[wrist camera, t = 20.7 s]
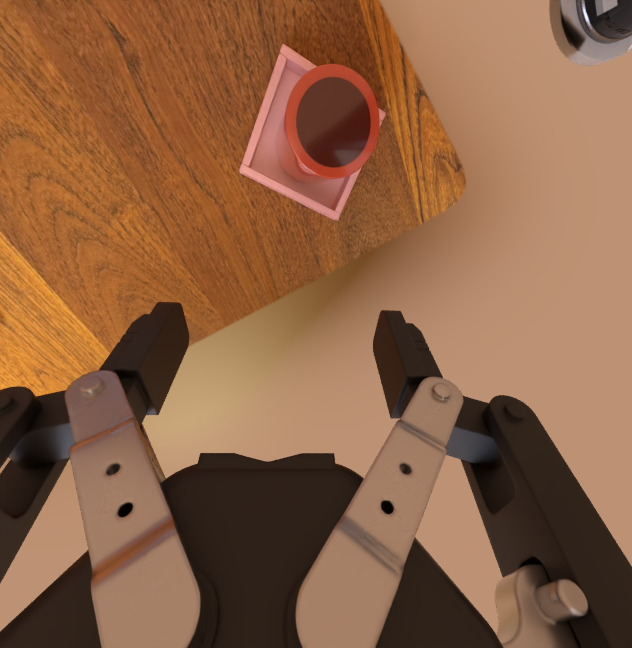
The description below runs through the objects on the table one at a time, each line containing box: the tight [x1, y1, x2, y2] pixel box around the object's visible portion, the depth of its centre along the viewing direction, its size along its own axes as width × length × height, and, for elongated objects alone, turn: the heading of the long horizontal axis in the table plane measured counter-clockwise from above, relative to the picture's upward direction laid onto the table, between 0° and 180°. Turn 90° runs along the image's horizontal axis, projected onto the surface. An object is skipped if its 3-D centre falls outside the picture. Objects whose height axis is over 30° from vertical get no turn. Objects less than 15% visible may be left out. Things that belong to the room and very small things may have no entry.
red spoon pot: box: [275, 64, 380, 185], centre depth 21 cm, size 6×6×8 cm
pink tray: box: [239, 44, 386, 220], centre depth 24 cm, size 9×9×2 cm
